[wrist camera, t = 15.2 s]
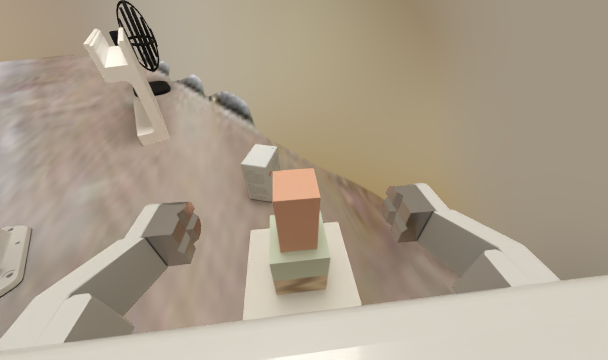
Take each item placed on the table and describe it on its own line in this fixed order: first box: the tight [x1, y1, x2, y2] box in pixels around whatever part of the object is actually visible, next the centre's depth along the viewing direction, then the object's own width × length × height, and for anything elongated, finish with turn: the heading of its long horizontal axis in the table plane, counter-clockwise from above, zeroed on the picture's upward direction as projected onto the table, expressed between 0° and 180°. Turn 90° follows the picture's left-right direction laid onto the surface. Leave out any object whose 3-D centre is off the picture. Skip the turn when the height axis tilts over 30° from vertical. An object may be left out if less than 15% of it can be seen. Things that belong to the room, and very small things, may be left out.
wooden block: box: [273, 275, 328, 295], centre depth 36 cm, size 8×8×5 cm
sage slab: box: [269, 212, 331, 281], centre depth 32 cm, size 8×8×5 cm
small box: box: [241, 144, 280, 202], centre depth 49 cm, size 8×6×10 cm
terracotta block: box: [273, 168, 320, 253], centre depth 27 cm, size 5×5×10 cm
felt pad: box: [243, 222, 362, 320], centre depth 37 cm, size 18×18×1 cm
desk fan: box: [109, 0, 170, 96], centre depth 97 cm, size 27×18×35 cm, turn 34°
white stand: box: [83, 27, 170, 146], centre depth 72 cm, size 35×8×28 cm, turn 33°
